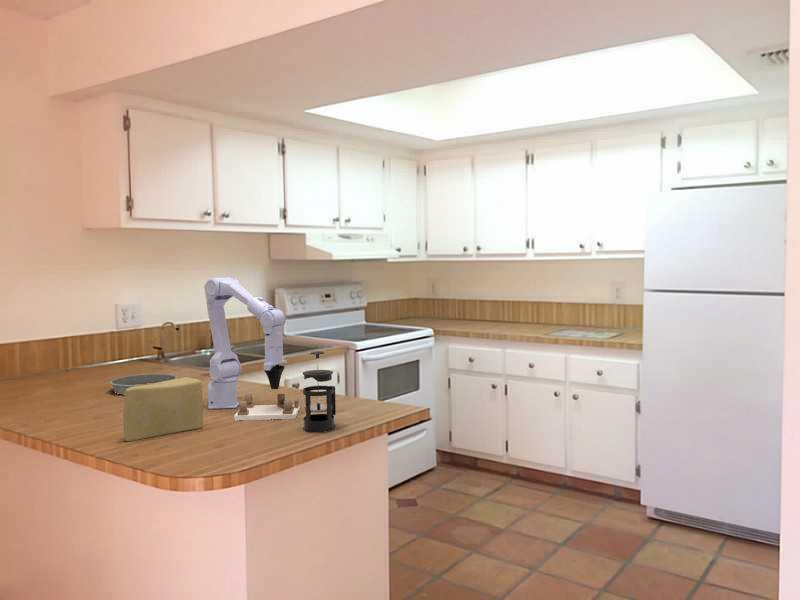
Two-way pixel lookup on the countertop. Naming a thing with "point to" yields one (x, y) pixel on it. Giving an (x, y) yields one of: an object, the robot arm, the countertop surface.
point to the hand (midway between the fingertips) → (274, 388)
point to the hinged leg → (281, 401)
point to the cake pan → (138, 381)
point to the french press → (318, 420)
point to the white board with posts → (266, 410)
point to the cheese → (163, 408)
